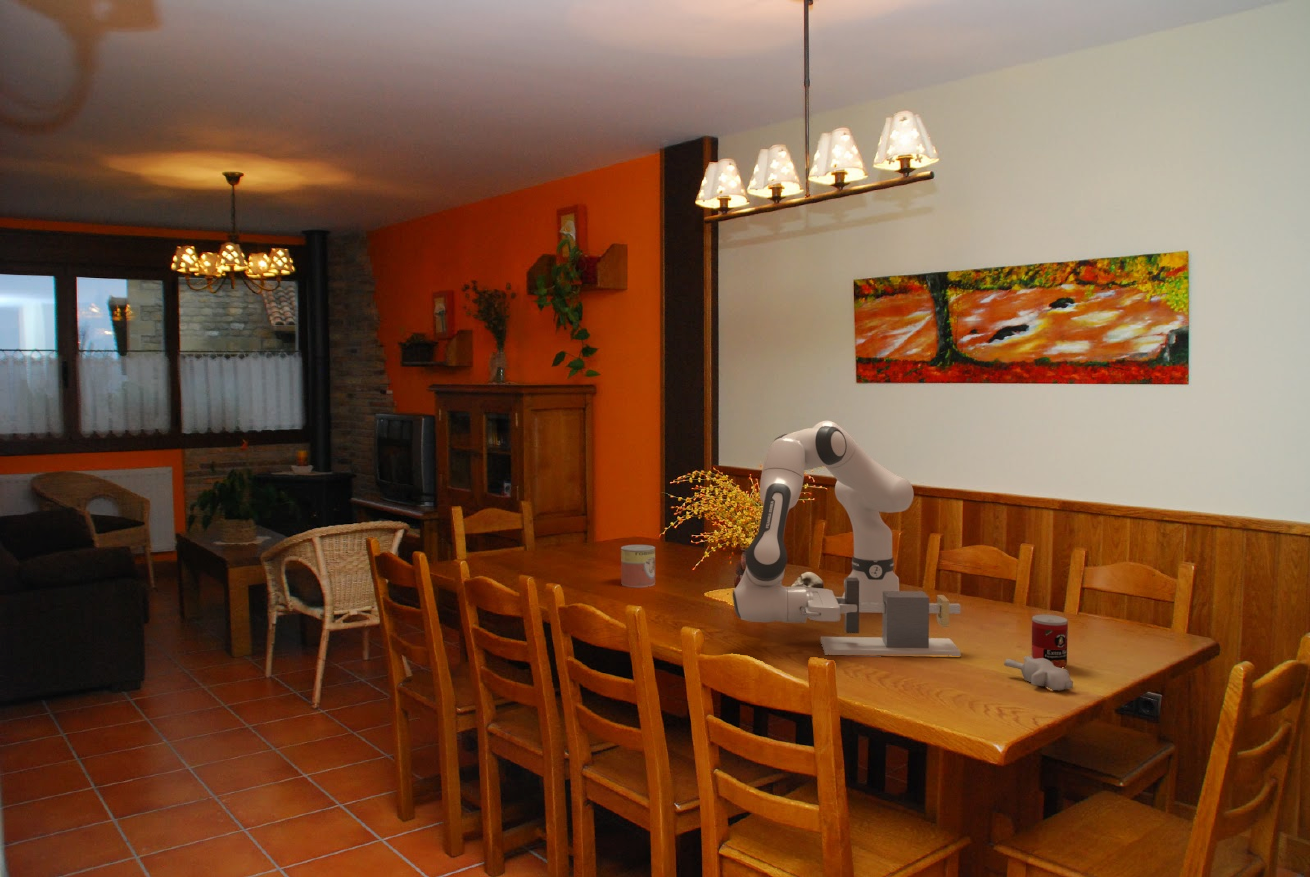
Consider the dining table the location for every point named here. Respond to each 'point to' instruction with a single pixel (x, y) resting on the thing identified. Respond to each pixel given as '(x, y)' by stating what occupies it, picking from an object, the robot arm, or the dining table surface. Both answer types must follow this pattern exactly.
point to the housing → (906, 619)
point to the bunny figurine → (1042, 673)
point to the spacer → (943, 611)
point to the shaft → (875, 606)
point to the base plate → (884, 647)
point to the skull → (809, 581)
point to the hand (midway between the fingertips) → (855, 605)
